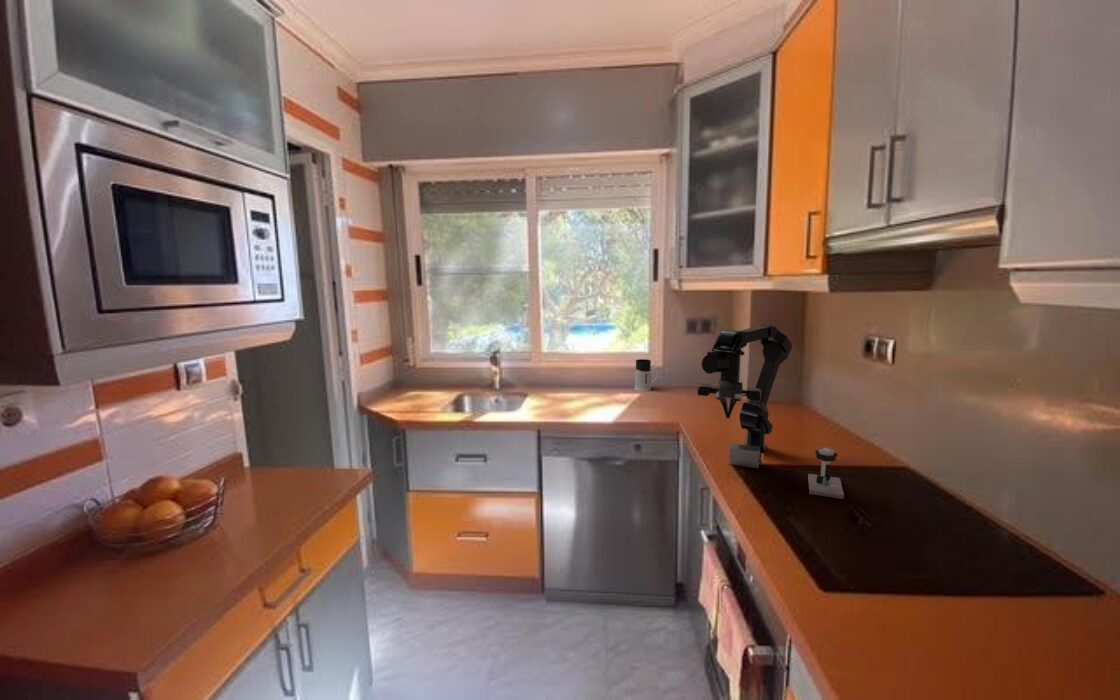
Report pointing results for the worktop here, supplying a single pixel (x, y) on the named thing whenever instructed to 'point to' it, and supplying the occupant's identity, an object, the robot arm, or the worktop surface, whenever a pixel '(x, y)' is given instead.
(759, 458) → the press pin
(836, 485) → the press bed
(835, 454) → the push button
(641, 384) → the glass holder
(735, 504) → the worktop surface
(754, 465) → the block
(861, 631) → the worktop surface
